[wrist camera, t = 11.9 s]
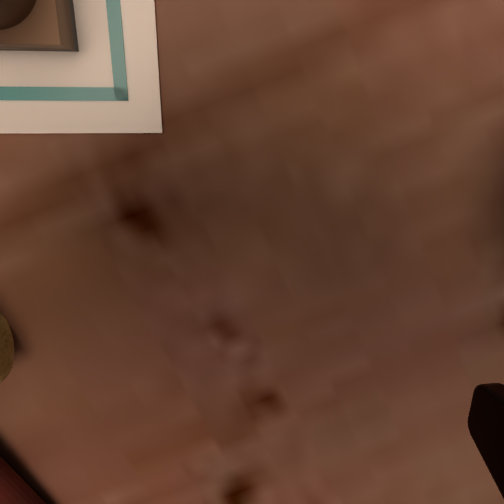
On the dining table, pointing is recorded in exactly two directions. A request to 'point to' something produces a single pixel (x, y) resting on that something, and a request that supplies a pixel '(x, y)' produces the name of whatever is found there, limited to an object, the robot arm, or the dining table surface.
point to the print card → (88, 76)
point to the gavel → (3, 476)
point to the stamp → (38, 25)
